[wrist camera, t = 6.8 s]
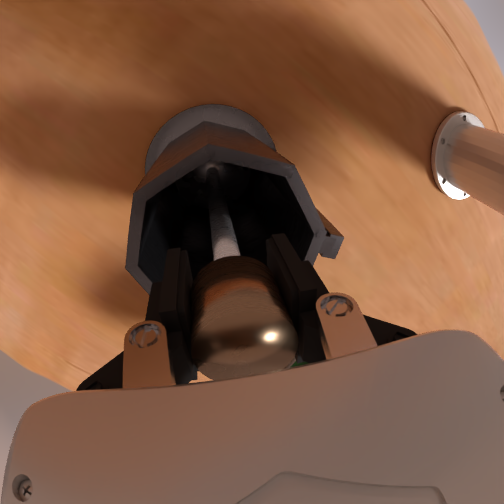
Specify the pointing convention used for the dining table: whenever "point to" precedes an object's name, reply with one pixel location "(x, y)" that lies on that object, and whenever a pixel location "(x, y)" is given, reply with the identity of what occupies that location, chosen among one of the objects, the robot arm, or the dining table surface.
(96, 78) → the dining table surface
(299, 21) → the dining table surface
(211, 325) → the plunger
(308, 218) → the press carafe
